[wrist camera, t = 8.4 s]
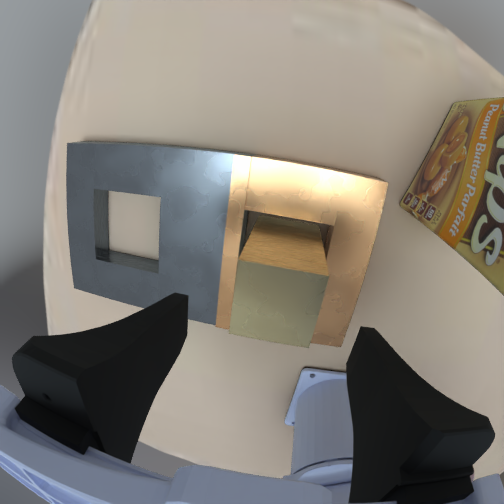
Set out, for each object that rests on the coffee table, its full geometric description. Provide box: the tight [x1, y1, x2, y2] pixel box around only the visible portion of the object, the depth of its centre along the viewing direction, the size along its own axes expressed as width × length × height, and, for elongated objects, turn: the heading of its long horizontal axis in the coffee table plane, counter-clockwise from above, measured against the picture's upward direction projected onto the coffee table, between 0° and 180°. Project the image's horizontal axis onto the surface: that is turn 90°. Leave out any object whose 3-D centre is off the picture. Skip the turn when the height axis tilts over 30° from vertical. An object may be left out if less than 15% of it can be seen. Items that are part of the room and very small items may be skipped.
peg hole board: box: [66, 141, 388, 347], centre depth 21 cm, size 22×12×2 cm, turn 83°
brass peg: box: [229, 215, 329, 348], centre depth 18 cm, size 4×4×8 cm
